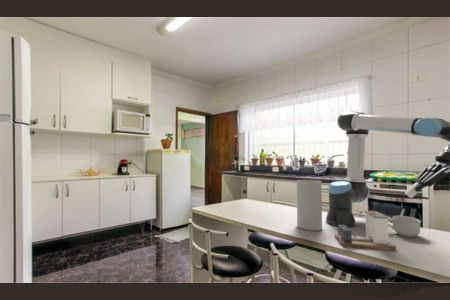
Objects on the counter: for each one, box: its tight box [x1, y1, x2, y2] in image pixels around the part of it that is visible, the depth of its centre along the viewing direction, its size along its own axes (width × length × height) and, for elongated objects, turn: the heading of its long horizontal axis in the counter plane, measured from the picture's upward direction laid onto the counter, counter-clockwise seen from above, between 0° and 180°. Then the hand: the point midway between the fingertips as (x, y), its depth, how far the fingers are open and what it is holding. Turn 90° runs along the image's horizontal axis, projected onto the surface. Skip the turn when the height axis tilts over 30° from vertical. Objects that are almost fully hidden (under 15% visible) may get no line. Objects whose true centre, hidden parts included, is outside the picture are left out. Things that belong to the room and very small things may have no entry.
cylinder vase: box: [296, 179, 323, 232], centre depth 121 cm, size 12×12×25 cm
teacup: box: [387, 215, 422, 238], centre depth 110 cm, size 14×11×8 cm
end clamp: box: [337, 225, 353, 242], centre depth 100 cm, size 8×3×5 cm, turn 170°
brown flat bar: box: [339, 235, 390, 243], centre depth 99 cm, size 3×19×1 cm, turn 80°
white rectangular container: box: [364, 210, 390, 244], centre depth 98 cm, size 9×5×12 cm, turn 170°
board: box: [334, 233, 397, 251], centre depth 99 cm, size 12×20×2 cm, turn 80°
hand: (408, 195), depth 96 cm, fingers closed
